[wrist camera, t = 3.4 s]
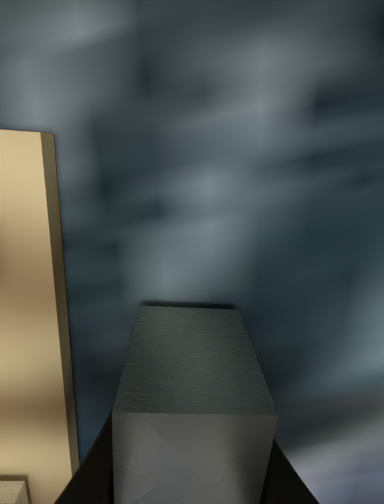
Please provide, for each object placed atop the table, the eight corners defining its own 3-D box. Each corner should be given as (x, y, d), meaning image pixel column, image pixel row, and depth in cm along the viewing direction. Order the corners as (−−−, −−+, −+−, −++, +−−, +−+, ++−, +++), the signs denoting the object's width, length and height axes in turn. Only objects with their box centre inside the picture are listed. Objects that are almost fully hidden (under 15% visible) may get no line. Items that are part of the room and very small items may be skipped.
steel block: (219, 453, 15) (238, 599, 10) (137, 451, 14) (116, 601, 10) (239, 309, 12) (278, 415, 7) (139, 305, 12) (111, 412, 7)
